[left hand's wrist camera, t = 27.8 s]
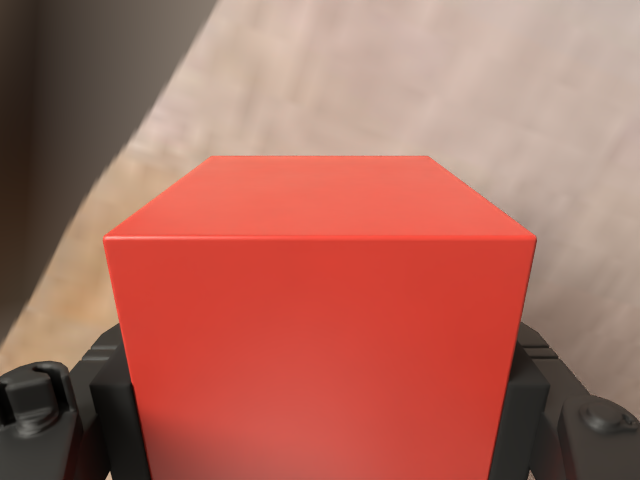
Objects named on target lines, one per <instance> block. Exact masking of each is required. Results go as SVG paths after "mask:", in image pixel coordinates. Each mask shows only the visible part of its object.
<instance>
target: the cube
mask: <svg viewBox="0 0 640 480" xmlns="http://www.w3.org/2000/svg"><path fill="white" fill-rule="evenodd" d="M536 243H537V238H536V236H535V235H534V234H532V233H531V232H530V231H528V230H527V229H526V228H524V227H523V226H522V225H520V224H519V223H518V222H516V221H515V220H514V219H512V218H511V217H510V216H508V215H507V214H506V213H504V212H503V211H502V210H500V209H499V208H497V207H496V206H495V205H493V204H492V203H491V202H489V201H488V200H487V199H485V198H484V197H483V196H481V195H480V194H479V193H477V192H476V191H475V190H473V189H472V188H471V187H469V186H468V185H466V184H465V183H464V182H462V181H461V180H460V179H458V178H457V177H456V176H454V175H453V174H452V173H450V172H449V171H448V170H446V169H445V168H444V167H442V166H441V165H440V164H438V163H437V162H436V161H434V160H433V159H431V158H430V157H429V156H211V157H209V158H208V159H207V160H205V161H204V162H203V163H201V164H200V165H199V166H197V167H196V168H195V169H193V170H192V171H191V172H189V173H188V174H187V175H185V176H184V177H182V178H181V179H180V180H178V181H177V182H176V183H174V184H173V185H172V186H170V187H169V188H168V189H166V190H165V191H164V192H162V193H161V194H160V195H158V196H157V197H156V198H154V199H153V200H152V201H150V202H149V203H148V204H146V205H145V206H143V207H142V208H141V209H139V210H138V211H137V212H135V213H134V214H133V215H131V216H130V217H129V218H127V219H126V220H125V221H123V222H122V223H121V224H119V225H118V226H117V227H115V228H114V229H113V230H111V231H110V232H109V233H107V234H106V235H105V236H104V237H103V244H104V249H105V254H106V259H107V264H108V269H109V273H110V278H111V283H112V288H113V293H114V298H115V303H116V308H117V313H118V318H119V323H120V328H121V333H122V338H123V343H124V347H125V352H126V357H127V362H128V367H129V372H130V377H131V382H132V387H133V392H134V397H135V402H136V407H137V412H138V417H139V421H140V426H141V431H142V436H143V441H144V446H145V451H146V456H147V461H148V466H149V471H150V476H151V480H488V479H489V474H490V469H491V464H492V459H493V454H494V449H495V444H496V439H497V434H498V429H499V425H500V420H501V415H502V410H503V405H504V400H505V395H506V390H507V385H508V380H509V375H510V370H511V366H512V361H513V356H514V351H515V346H516V341H517V336H518V331H519V326H520V321H521V316H522V311H523V307H524V302H525V297H526V292H527V287H528V282H529V277H530V272H531V267H532V262H533V257H534V252H535V248H536Z"/></svg>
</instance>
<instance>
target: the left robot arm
mask: <svg viewBox="0 0 640 480" xmlns="http://www.w3.org/2000/svg"><path fill="white" fill-rule="evenodd" d="M530 470H531V472H532V474H533V476H534V477H535V479H536V480H640V422H639V421H638V420H637V418H636V417H634V416H633V415H632V414H631V413H630V412H628V411H627V410H626V409H625V408H623V407H621V406H619V405H617V404H615V403H613V402H612V401H610V400H606V399H603V398H600V397H597V396H593V395H591V394H590V393H589V392H588V391H587V390H586V389H585V387H584V386H583V385H582V384H581V383H580V382H579V380H578V379H577V378H576V377H575V376H574V374H573V373H572V372H571V371H570V370H569V369H568V367H567V366H566V365H565V364H564V363H563V361H562V360H561V359H558V356H557V354H556V353H555V352H554V351H553V350H552V349H551V348H549V345H548V344H547V343H546V341H545V340H544V339H543V338H542V337H541V336H540V334H539V333H538V332H536V331H535V330H533V329H532V328H530V327H528V326H527V325H525V324H524V323H522V322H520V326H519V331H518V336H517V341H516V346H515V351H514V356H513V361H512V366H511V370H510V375H509V380H508V385H507V390H506V395H505V400H504V405H503V410H502V415H501V420H500V425H499V429H498V434H497V439H496V444H495V449H494V454H493V459H492V464H491V469H490V474H489V479H488V480H527V479H528V475H529V471H530ZM109 472H111V476H112V480H151V476H150V471H149V466H148V461H147V456H146V451H145V446H144V441H143V436H142V431H141V426H140V421H139V417H138V412H137V407H136V402H135V397H134V392H133V387H132V382H131V377H130V372H129V367H128V362H127V357H126V352H125V347H124V343H123V338H122V333H121V328H120V323H118V324H117V325H115V326H114V327H112V328H111V329H109V330H108V331H106V332H104V333H103V334H102V335H101V336H100V337H99V338H98V339H97V341H96V342H95V343H94V344H93V345H92V346H91V350H88V351H87V352H86V354H85V355H84V356H83V357H82V360H81V361H79V362H78V363H77V364H76V365H75V367H74V368H73V369H72V370H71V371H70V373H69V371H68V368H67V367H66V366H65V365H63V364H62V363H60V362H54V361H43V362H34V363H31V364H27V365H24V366H20V367H18V368H16V369H14V370H11V371H9V372H7V373H5V374H3V375H2V376H0V480H105V479H106V477H107V475H108V473H109Z"/></svg>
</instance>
